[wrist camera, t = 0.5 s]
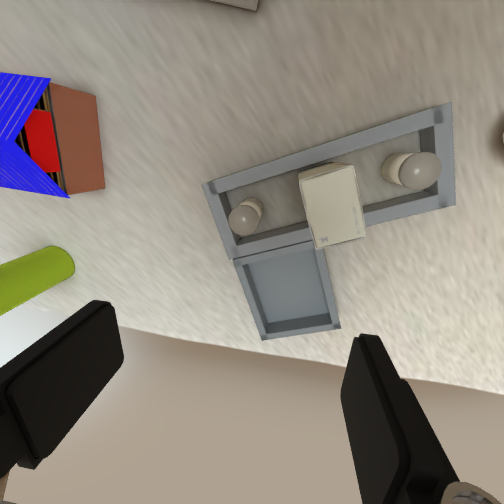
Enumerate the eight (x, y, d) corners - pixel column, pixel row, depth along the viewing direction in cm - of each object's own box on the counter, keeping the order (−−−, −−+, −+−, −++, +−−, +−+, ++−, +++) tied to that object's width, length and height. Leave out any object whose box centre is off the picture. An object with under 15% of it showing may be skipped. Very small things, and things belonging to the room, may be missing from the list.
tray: (317, 231, 33) (320, 238, 30) (337, 314, 37) (341, 328, 34) (237, 251, 35) (232, 260, 33) (263, 326, 40) (261, 340, 37)
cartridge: (410, 148, 28) (440, 146, 22) (413, 178, 29) (442, 184, 23) (378, 157, 28) (399, 159, 23) (382, 186, 30) (403, 194, 24)
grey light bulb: (259, 193, 32) (253, 202, 26) (266, 218, 33) (262, 231, 28) (235, 201, 33) (224, 210, 27) (243, 224, 34) (234, 238, 28)
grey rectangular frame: (434, 107, 26) (451, 101, 23) (440, 199, 29) (455, 204, 26) (208, 181, 32) (201, 184, 30) (233, 251, 36) (229, 259, 33)
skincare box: (341, 209, 31) (369, 240, 20) (306, 218, 32) (315, 253, 21) (331, 159, 29) (357, 162, 18) (294, 170, 30) (297, 180, 19)
